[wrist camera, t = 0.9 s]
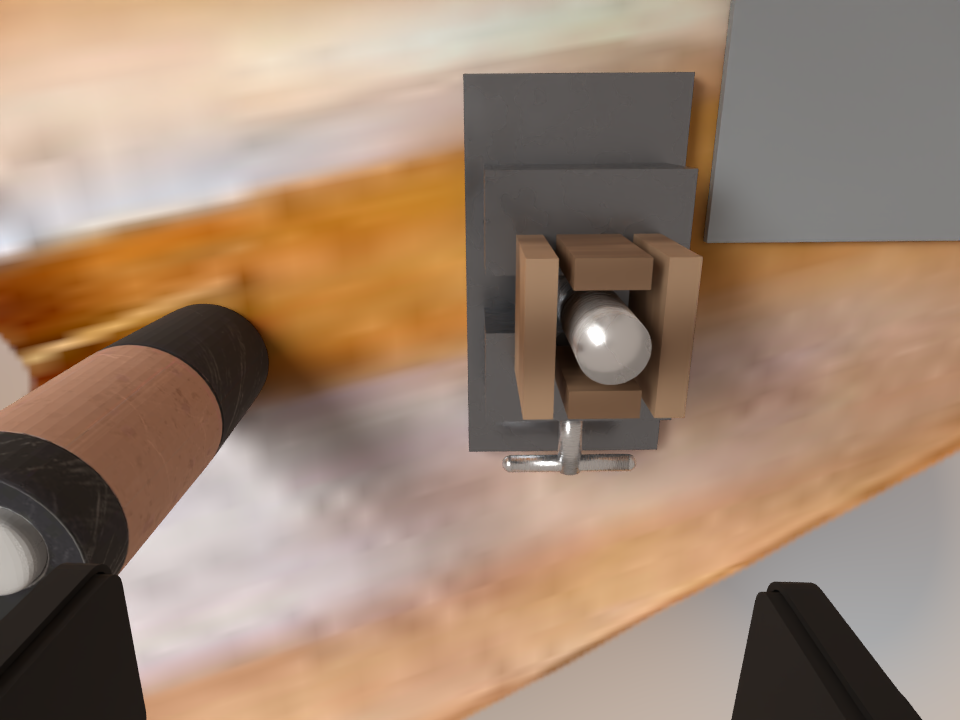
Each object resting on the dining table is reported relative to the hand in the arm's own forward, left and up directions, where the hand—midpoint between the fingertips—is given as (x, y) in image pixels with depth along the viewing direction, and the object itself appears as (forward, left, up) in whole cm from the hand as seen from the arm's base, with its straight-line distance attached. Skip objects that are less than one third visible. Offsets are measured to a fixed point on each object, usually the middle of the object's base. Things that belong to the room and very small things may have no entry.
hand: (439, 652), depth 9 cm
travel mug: (+6, -16, -30) cm, 35 cm away
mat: (-9, +22, -30) cm, 38 cm away
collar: (+1, +6, -23) cm, 24 cm away
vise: (+1, +6, -30) cm, 31 cm away
